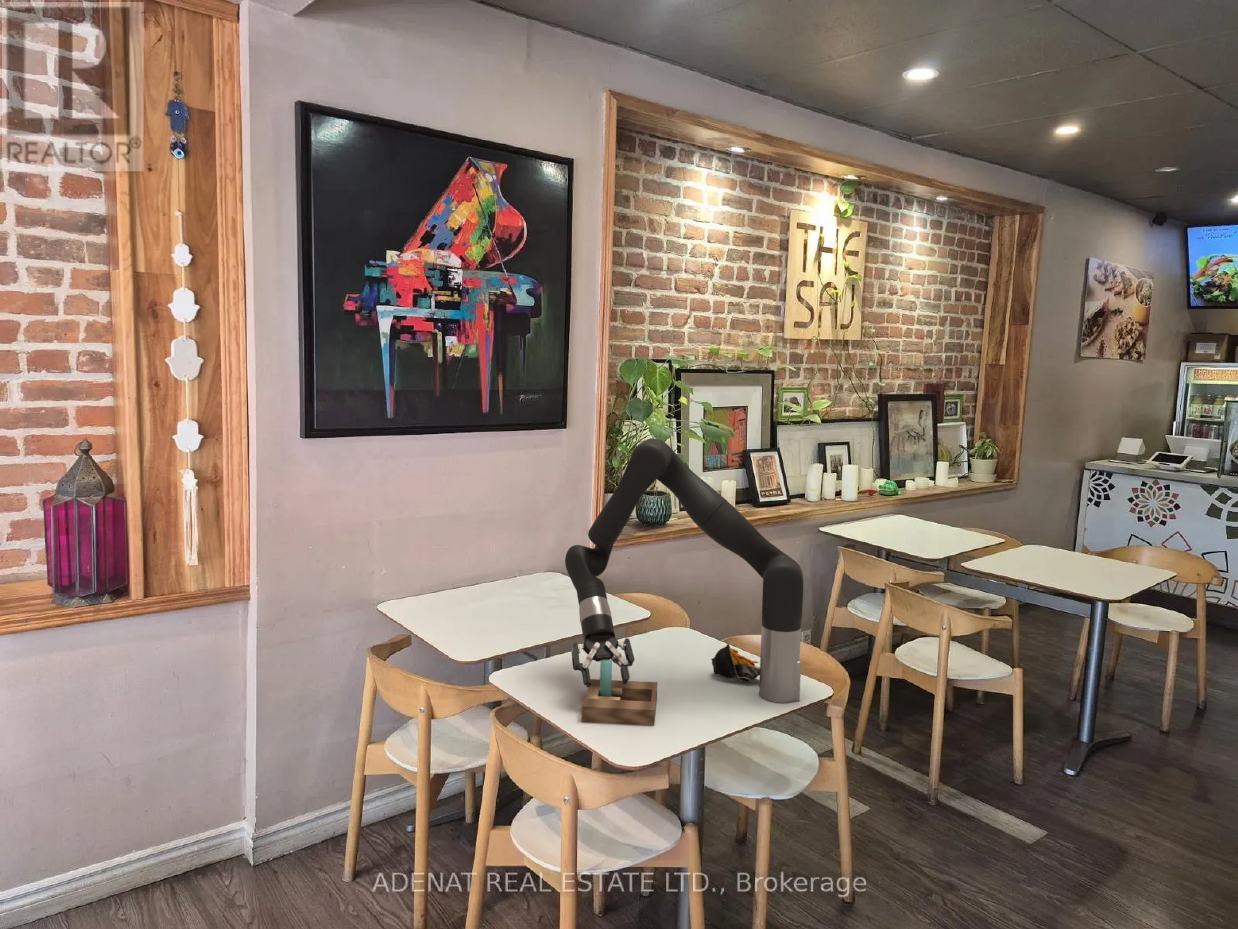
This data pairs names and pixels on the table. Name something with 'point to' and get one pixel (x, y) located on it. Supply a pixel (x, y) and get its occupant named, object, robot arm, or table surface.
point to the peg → (605, 678)
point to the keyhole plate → (621, 703)
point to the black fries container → (734, 665)
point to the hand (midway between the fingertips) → (607, 684)
